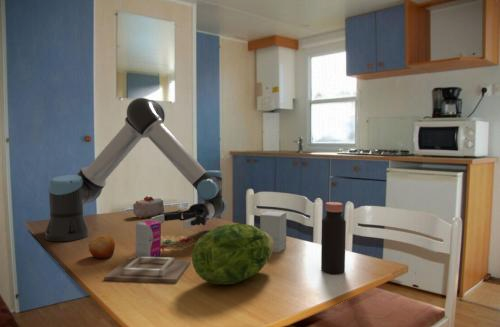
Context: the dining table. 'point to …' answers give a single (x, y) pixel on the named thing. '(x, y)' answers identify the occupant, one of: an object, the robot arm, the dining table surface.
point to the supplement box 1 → (148, 239)
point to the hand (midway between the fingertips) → (167, 223)
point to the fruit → (102, 246)
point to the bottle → (333, 239)
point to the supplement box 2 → (275, 228)
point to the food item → (148, 207)
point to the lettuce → (231, 253)
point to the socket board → (149, 270)
